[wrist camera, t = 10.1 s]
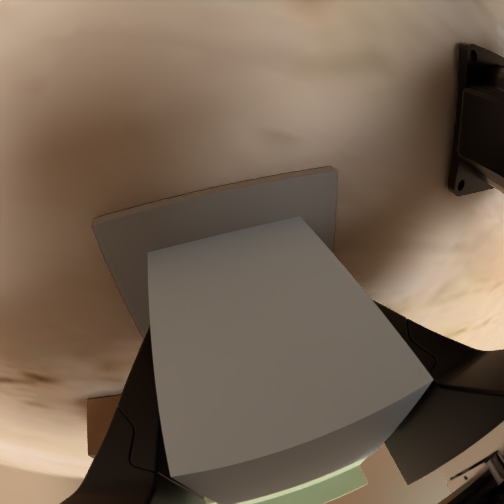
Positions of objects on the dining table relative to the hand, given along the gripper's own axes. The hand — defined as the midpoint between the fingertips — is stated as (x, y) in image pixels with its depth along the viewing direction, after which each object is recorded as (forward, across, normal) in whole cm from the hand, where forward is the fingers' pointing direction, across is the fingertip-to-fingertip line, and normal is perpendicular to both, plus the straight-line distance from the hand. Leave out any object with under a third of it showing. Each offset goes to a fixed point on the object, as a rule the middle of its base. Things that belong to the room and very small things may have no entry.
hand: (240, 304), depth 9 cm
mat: (+1, 0, 0) cm, 1 cm away
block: (+1, 0, 0) cm, 1 cm away
